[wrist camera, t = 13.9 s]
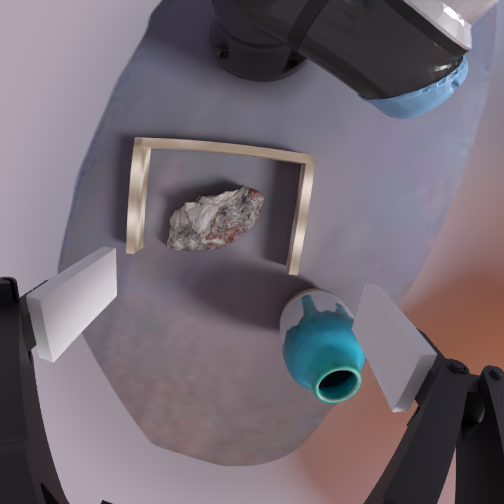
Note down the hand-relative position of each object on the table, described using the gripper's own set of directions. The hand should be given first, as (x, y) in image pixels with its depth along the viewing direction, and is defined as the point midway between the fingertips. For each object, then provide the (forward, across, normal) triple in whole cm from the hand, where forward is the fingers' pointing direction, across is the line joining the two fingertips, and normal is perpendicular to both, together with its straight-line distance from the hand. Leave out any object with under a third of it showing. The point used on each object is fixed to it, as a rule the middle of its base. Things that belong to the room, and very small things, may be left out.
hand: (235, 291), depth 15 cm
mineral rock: (+30, -5, -2) cm, 30 cm away
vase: (+29, +11, -15) cm, 35 cm away
